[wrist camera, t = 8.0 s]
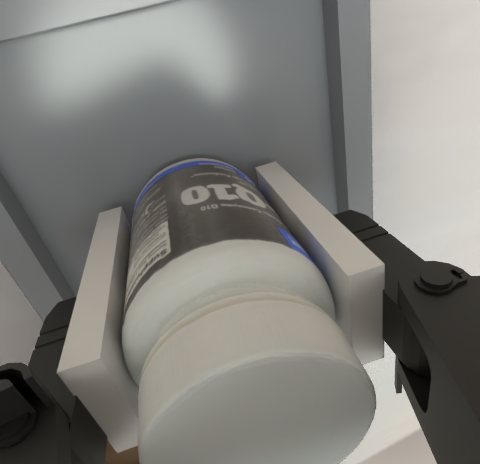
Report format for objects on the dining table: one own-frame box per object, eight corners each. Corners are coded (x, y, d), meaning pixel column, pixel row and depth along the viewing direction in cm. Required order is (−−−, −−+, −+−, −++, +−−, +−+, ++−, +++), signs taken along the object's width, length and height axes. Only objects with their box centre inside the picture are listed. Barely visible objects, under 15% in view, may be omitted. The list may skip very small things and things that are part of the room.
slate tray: (109, 372, 17) (105, 409, 16) (-111, 26, 10) (-166, 24, 8) (353, 290, 18) (374, 316, 17) (333, -75, 11) (368, -96, 9)
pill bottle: (284, 186, 13) (455, 366, 6) (226, 285, 15) (306, 523, 7) (163, 130, 11) (197, 295, 4) (111, 250, 13) (67, 529, 5)
